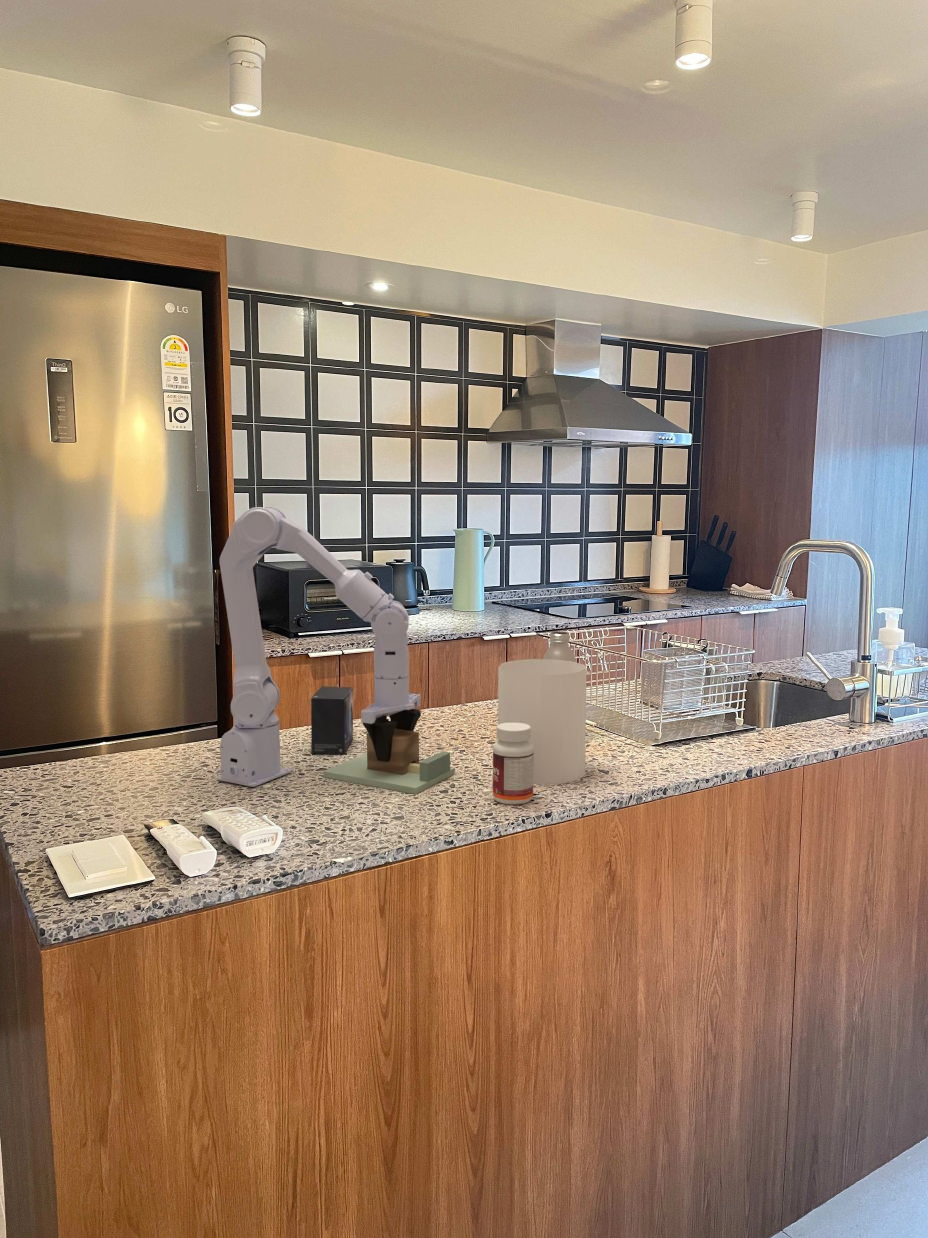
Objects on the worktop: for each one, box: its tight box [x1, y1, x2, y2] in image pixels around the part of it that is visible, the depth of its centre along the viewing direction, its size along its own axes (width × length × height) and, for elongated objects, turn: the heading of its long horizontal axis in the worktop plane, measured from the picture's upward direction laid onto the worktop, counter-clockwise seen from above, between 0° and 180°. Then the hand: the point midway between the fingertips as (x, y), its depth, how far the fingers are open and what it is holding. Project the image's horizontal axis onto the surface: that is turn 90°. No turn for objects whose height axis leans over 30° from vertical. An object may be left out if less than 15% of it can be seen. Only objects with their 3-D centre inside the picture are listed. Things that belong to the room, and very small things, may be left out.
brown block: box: [366, 729, 420, 775], centre depth 146 cm, size 5×7×6 cm
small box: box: [310, 685, 354, 755], centre depth 162 cm, size 11×6×10 cm, turn 179°
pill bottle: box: [492, 723, 534, 805], centre depth 133 cm, size 6×6×11 cm
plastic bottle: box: [542, 631, 577, 663], centre depth 170 cm, size 6×7×20 cm
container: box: [497, 658, 588, 786], centre depth 147 cm, size 14×14×18 cm
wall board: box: [322, 751, 456, 795], centre depth 145 cm, size 12×18×4 cm, turn 61°
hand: (392, 756), depth 146 cm, fingers closed on brown block, 5 cm apart
